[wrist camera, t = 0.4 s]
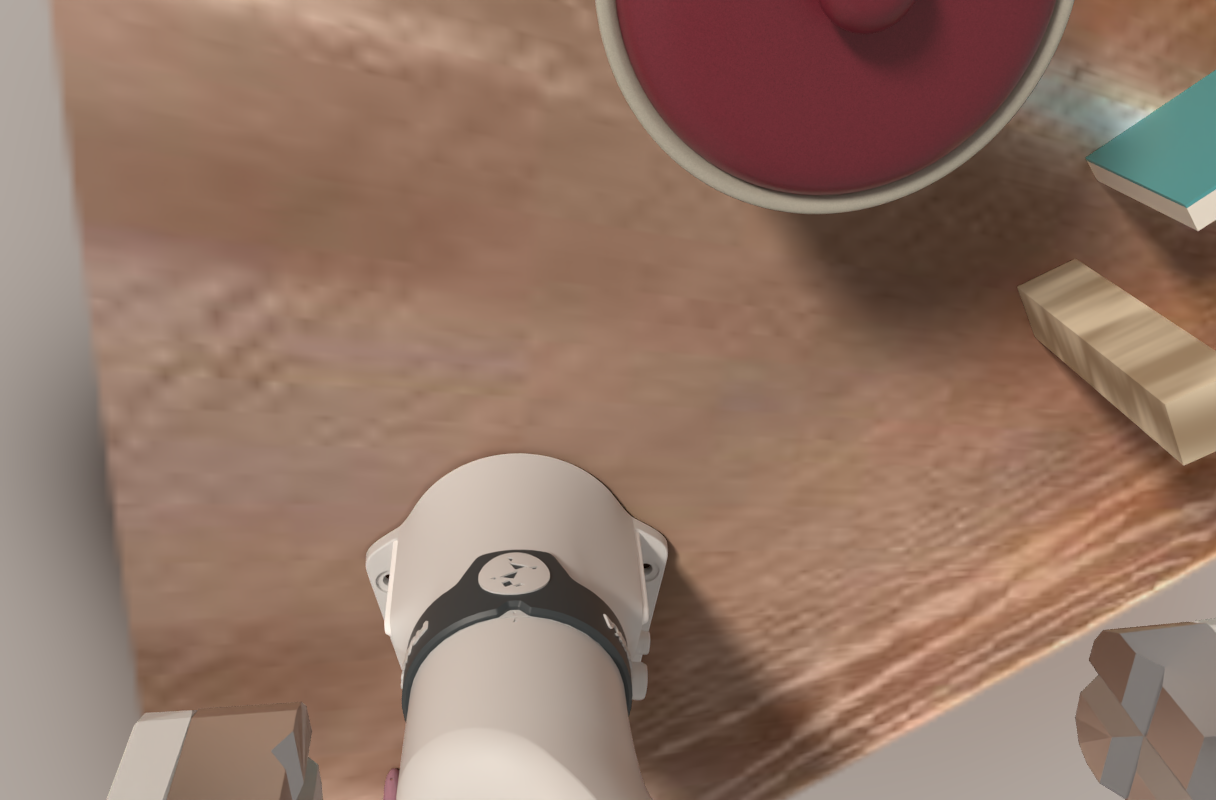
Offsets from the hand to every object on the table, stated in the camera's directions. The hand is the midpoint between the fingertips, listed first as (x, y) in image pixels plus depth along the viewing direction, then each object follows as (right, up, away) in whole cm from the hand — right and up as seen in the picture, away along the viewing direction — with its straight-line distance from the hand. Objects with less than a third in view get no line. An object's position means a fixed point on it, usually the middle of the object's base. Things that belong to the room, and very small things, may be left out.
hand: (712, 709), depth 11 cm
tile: (+29, +19, +48) cm, 59 cm away
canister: (+6, +26, +43) cm, 51 cm away
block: (+25, +9, +52) cm, 59 cm away
